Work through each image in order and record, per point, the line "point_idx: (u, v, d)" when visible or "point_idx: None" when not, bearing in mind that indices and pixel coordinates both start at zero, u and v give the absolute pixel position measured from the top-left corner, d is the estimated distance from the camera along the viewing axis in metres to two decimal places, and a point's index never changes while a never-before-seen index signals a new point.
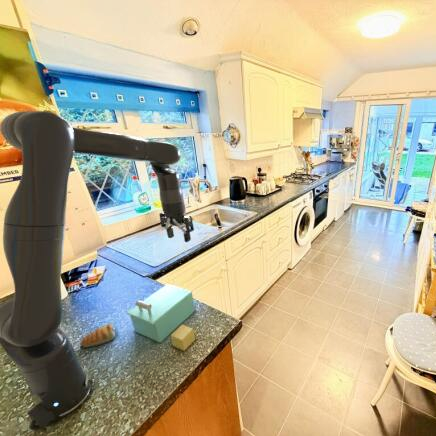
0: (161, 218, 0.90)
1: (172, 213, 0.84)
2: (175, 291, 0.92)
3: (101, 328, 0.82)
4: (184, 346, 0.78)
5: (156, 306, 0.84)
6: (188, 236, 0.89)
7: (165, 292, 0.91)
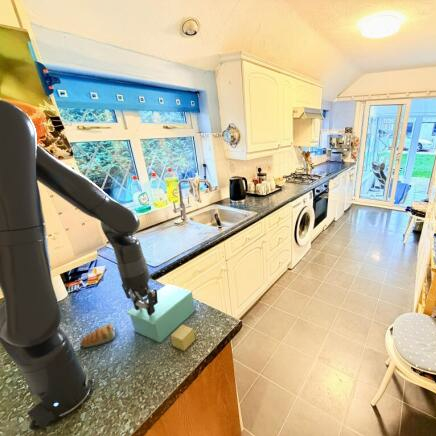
0: (124, 289, 0.79)
1: (133, 287, 0.73)
2: (175, 291, 0.92)
3: (101, 328, 0.82)
4: (184, 346, 0.78)
5: (156, 306, 0.84)
6: (151, 309, 0.79)
7: (165, 292, 0.91)
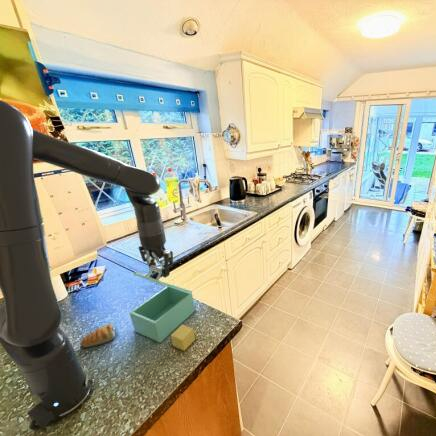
0: (141, 252, 0.83)
1: (150, 247, 0.77)
2: None
3: (101, 328, 0.82)
4: (184, 346, 0.78)
5: None
6: (166, 271, 0.82)
7: None
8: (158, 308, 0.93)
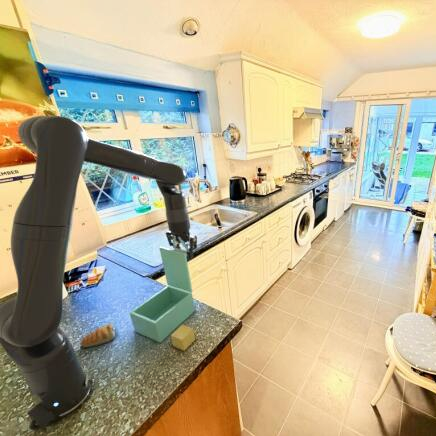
0: (168, 237, 0.92)
1: (178, 232, 0.87)
2: None
3: (101, 328, 0.82)
4: (184, 346, 0.78)
5: None
6: (191, 254, 0.92)
7: None
8: (158, 308, 0.93)
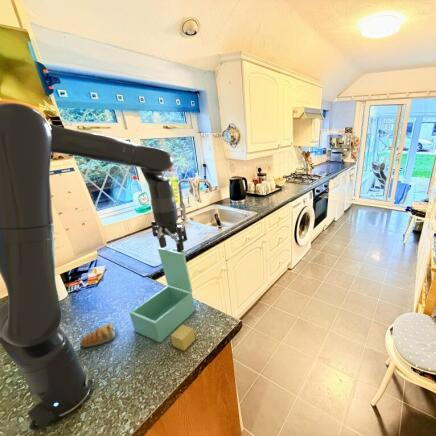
0: (153, 227, 0.86)
1: (164, 222, 0.80)
2: None
3: (101, 328, 0.82)
4: (184, 346, 0.78)
5: None
6: (181, 246, 0.85)
7: None
8: (158, 308, 0.93)
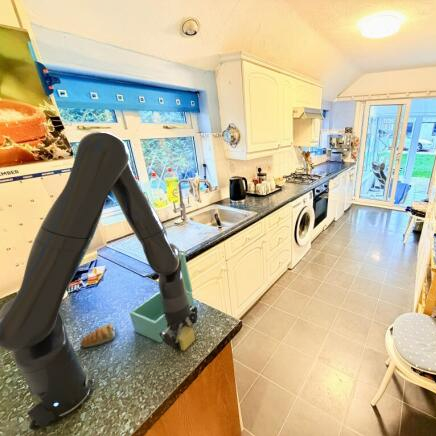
0: None
1: None
2: None
3: (101, 328, 0.82)
4: (184, 346, 0.78)
5: None
6: (173, 345, 0.77)
7: None
8: (158, 308, 0.93)
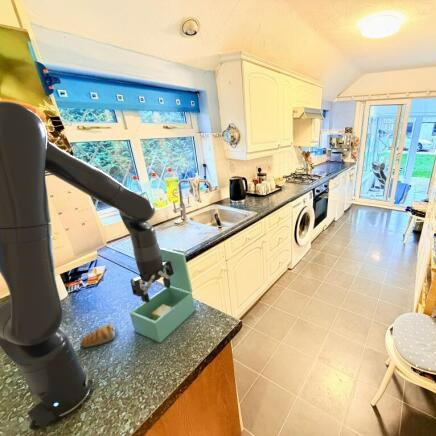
0: None
1: None
2: None
3: (101, 328, 0.82)
4: None
5: None
6: (142, 297, 0.80)
7: None
8: None
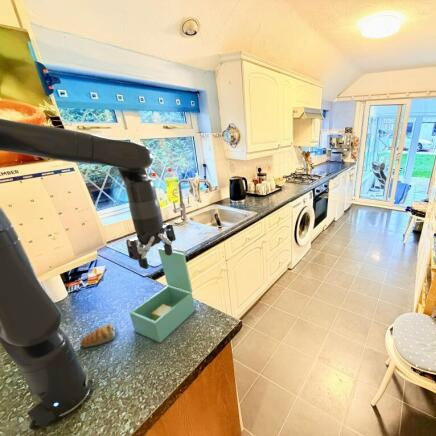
0: None
1: None
2: None
3: (101, 328, 0.82)
4: None
5: None
6: (140, 262, 0.69)
7: None
8: None
